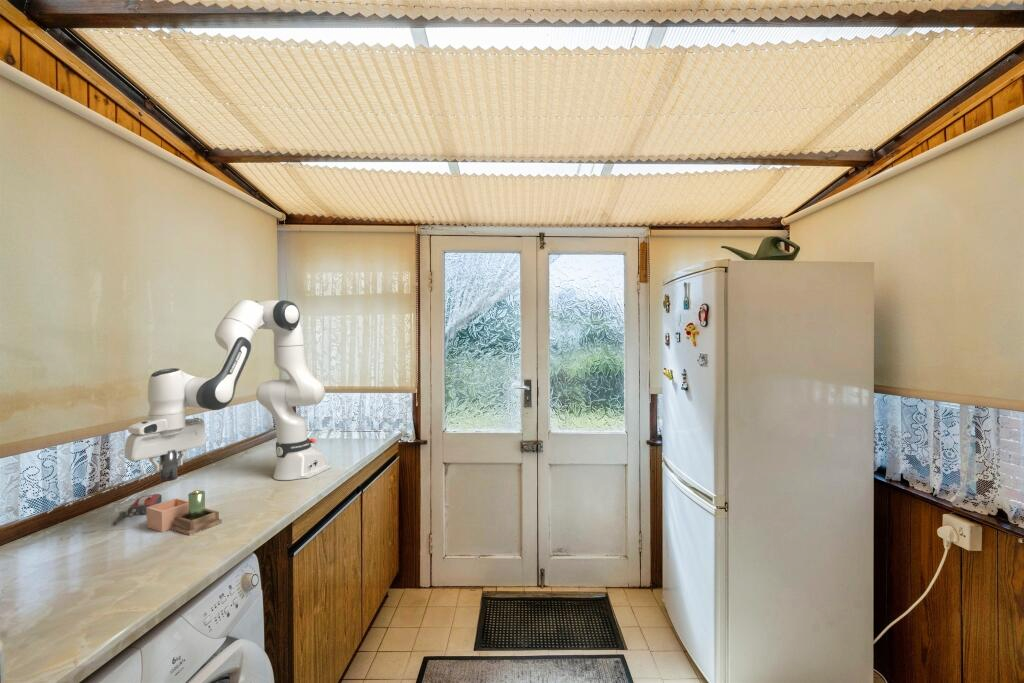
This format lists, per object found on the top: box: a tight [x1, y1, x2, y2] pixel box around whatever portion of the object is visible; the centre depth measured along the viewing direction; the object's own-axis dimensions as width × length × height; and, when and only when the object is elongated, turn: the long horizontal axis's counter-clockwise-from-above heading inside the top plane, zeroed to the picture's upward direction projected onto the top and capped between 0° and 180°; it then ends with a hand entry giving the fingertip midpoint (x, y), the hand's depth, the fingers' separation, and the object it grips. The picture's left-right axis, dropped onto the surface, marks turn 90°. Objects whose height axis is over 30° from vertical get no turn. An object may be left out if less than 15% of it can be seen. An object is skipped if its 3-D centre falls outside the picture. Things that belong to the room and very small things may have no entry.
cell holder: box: [171, 507, 223, 536], centre depth 133 cm, size 9×9×4 cm
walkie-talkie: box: [112, 493, 162, 525], centre depth 144 cm, size 9×4×20 cm
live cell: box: [187, 489, 206, 520], centre depth 133 cm, size 4×4×10 cm
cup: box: [146, 497, 189, 533], centre depth 134 cm, size 8×8×6 cm
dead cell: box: [159, 450, 178, 483], centre depth 134 cm, size 4×4×10 cm
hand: (168, 468), depth 134 cm, fingers closed on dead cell, 4 cm apart
